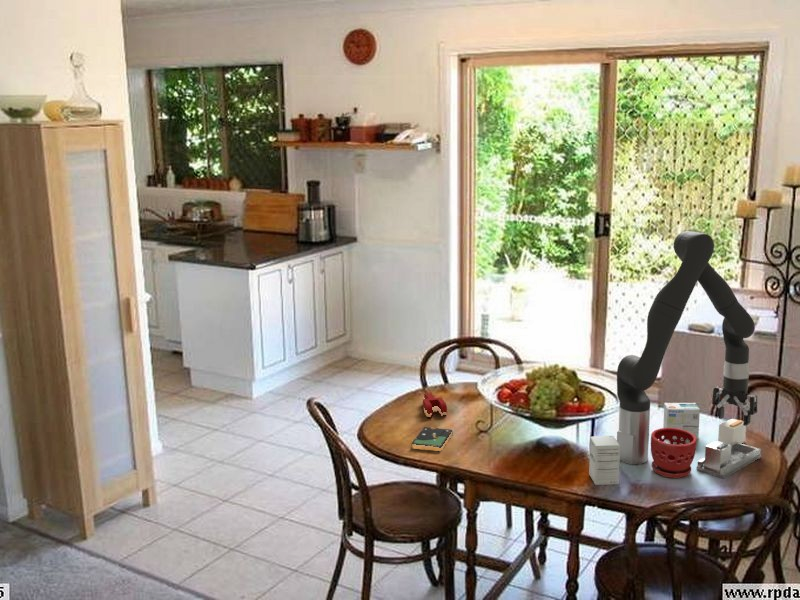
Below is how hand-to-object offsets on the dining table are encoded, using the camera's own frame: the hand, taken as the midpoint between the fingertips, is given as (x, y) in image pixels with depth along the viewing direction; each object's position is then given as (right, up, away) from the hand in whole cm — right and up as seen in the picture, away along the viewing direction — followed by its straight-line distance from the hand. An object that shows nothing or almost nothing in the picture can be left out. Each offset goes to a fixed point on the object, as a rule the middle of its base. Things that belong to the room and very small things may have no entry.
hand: (733, 421), depth 273 cm
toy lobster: (-97, -2, +39) cm, 104 cm away
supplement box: (-48, -14, -22) cm, 54 cm away
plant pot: (-26, -13, -18) cm, 34 cm away
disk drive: (-98, -9, +10) cm, 99 cm away
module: (0, -7, +2) cm, 8 cm away
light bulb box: (-14, -6, +9) cm, 18 cm away
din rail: (-7, -11, -13) cm, 19 cm away
